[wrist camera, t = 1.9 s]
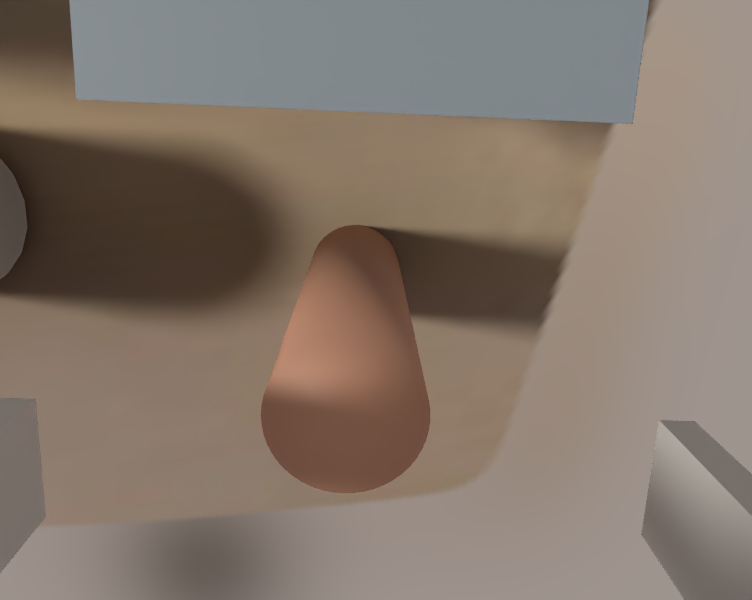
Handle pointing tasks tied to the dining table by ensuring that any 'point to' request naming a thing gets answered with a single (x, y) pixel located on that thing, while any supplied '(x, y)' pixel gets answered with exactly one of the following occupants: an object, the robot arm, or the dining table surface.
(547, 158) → the dining table surface
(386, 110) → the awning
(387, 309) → the peg
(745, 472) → the robot arm
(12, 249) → the can
